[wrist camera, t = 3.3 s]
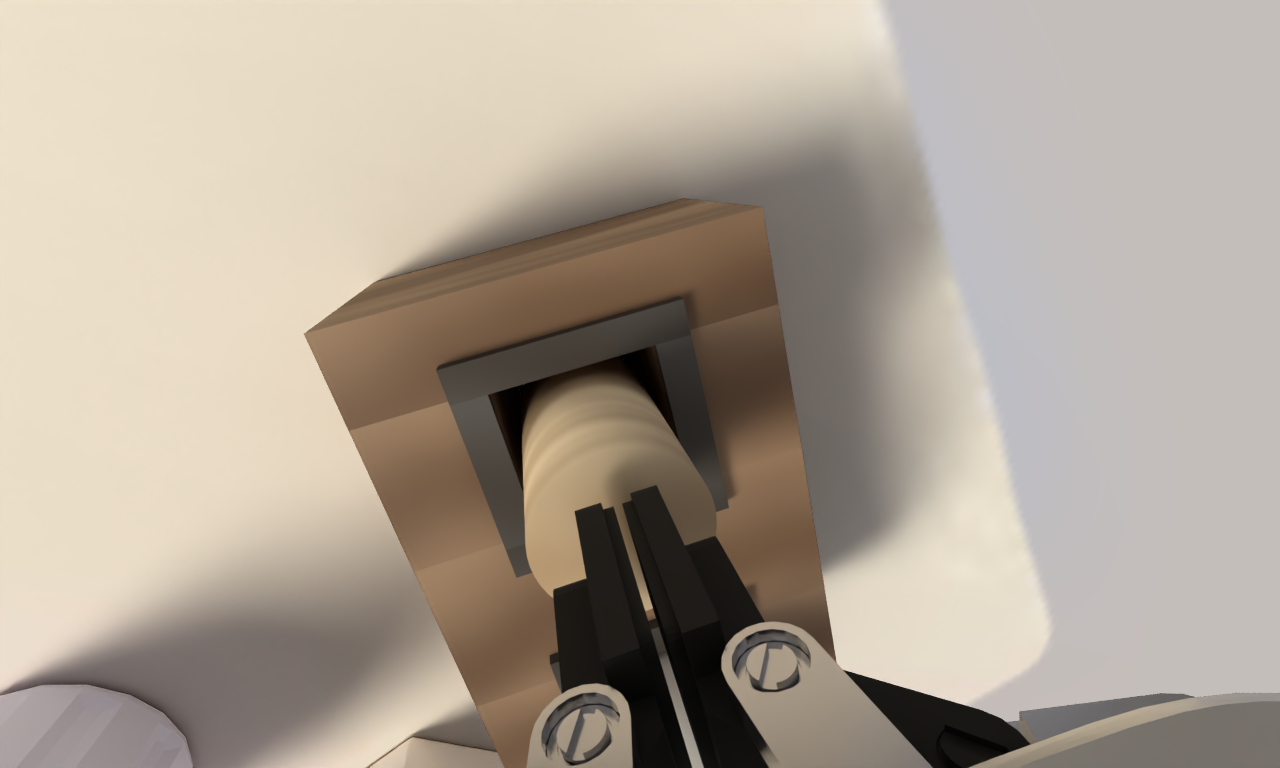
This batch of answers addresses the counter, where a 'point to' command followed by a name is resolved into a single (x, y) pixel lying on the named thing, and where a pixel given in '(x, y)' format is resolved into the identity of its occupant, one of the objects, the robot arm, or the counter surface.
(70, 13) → the counter surface
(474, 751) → the jar
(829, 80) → the counter surface
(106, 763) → the soap bottle
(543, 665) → the walnut block
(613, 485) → the oak peg
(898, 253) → the counter surface
